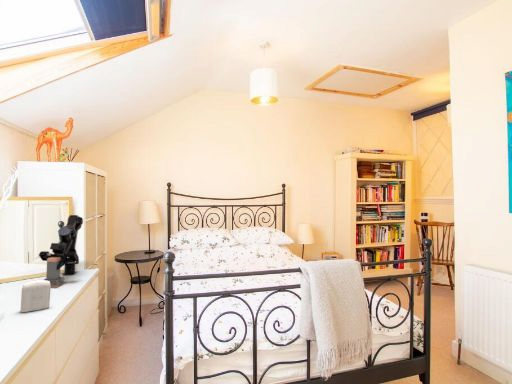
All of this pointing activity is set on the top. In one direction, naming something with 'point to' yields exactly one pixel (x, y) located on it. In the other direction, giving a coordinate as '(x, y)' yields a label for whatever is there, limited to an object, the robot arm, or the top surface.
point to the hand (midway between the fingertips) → (52, 269)
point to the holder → (57, 282)
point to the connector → (53, 268)
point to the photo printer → (35, 295)
